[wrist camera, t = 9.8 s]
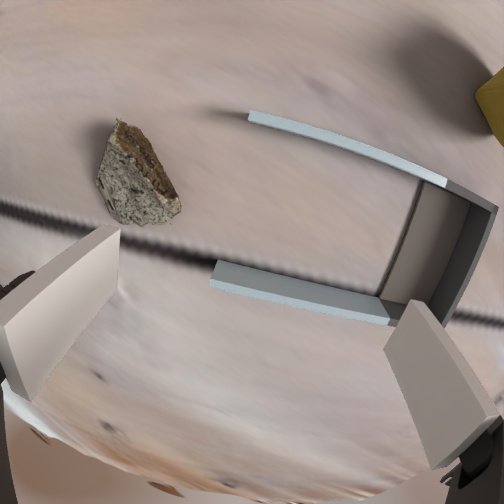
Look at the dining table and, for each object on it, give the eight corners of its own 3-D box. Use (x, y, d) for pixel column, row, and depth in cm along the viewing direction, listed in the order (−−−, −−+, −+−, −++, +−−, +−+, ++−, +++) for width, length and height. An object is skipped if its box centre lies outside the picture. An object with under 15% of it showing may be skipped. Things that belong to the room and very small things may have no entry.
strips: (216, 266, 29) (209, 286, 25) (252, 113, 24) (250, 109, 20) (375, 303, 30) (386, 325, 26) (426, 172, 24) (447, 179, 21)
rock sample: (52, 189, 23) (69, 179, 17) (100, 128, 25) (135, 101, 19) (129, 249, 29) (171, 260, 23) (166, 191, 32) (216, 186, 26)
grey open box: (375, 303, 30) (386, 325, 26) (426, 172, 24) (447, 179, 21) (426, 314, 30) (440, 334, 27) (476, 197, 25) (498, 207, 21)
